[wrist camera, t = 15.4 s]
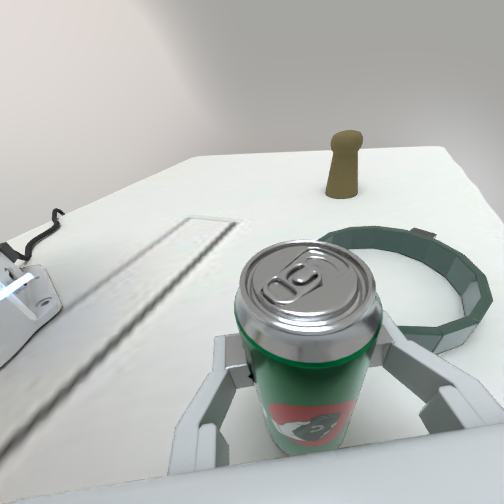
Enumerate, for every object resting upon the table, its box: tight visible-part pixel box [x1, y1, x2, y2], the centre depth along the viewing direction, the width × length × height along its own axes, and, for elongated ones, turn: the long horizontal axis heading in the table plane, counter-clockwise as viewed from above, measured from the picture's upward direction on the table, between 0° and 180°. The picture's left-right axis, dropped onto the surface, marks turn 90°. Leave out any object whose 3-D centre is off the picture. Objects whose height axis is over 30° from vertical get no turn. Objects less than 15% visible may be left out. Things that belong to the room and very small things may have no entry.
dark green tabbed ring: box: [317, 226, 493, 355], centre depth 23 cm, size 15×18×3 cm
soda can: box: [234, 240, 383, 456], centre depth 11 cm, size 5×5×12 cm
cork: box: [325, 130, 363, 199], centre depth 41 cm, size 6×6×11 cm
